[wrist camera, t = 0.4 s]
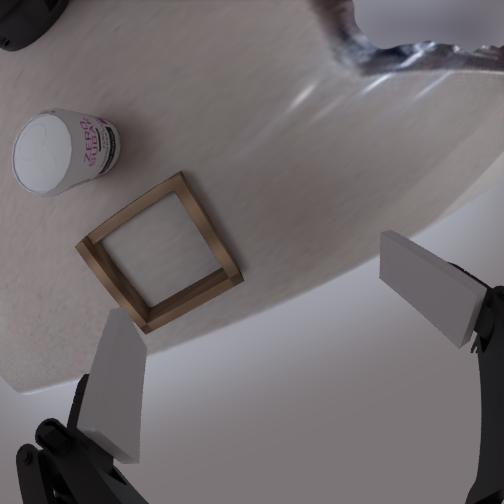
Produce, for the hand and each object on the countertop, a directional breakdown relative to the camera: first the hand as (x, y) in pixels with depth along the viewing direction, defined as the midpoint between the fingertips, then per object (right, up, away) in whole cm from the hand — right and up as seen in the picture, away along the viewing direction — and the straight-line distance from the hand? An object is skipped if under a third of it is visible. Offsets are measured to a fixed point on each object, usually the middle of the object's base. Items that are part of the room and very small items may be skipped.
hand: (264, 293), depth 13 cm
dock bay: (-14, +2, +25) cm, 28 cm away
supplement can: (-22, +16, +17) cm, 32 cm away
